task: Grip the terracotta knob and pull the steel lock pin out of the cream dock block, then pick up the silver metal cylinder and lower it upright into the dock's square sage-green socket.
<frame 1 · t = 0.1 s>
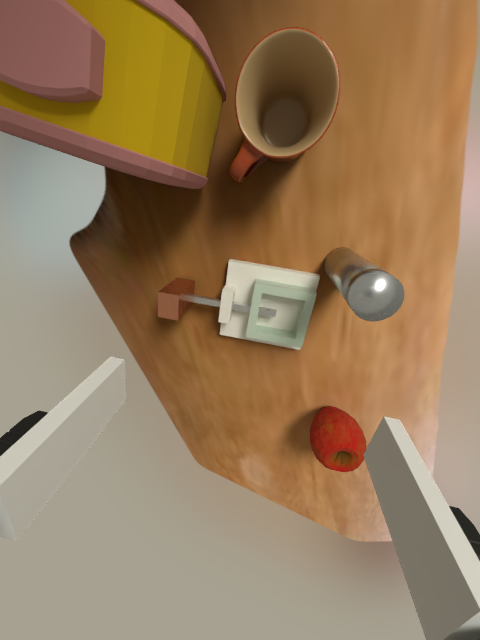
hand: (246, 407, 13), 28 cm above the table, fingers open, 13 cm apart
alarm clock: (157, 125, 33), on the table
dock: (266, 304, 40), on the table
silver metal cylinder: (340, 263, 37), on the table
pin: (221, 306, 37), point 4 cm above the table, slide at 0.0 cm
apple: (329, 409, 47), on the table
mug: (274, 142, 32), on the table
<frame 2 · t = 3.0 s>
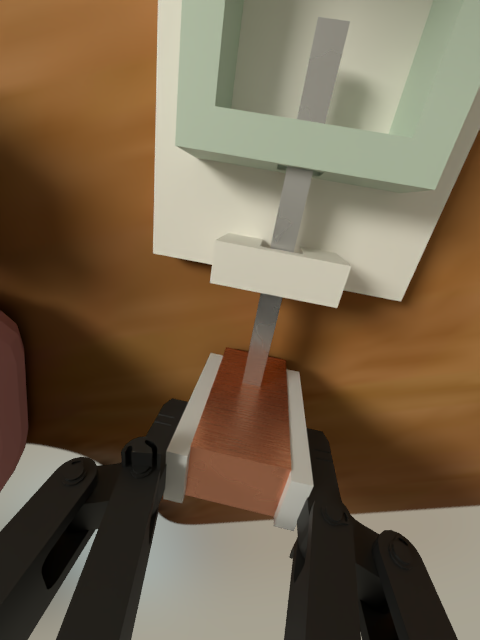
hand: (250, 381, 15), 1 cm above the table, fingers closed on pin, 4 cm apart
dock: (307, 120, 11), on the table
pin: (273, 290, 10), point 4 cm above the table, slide at 0.0 cm, touching gripper
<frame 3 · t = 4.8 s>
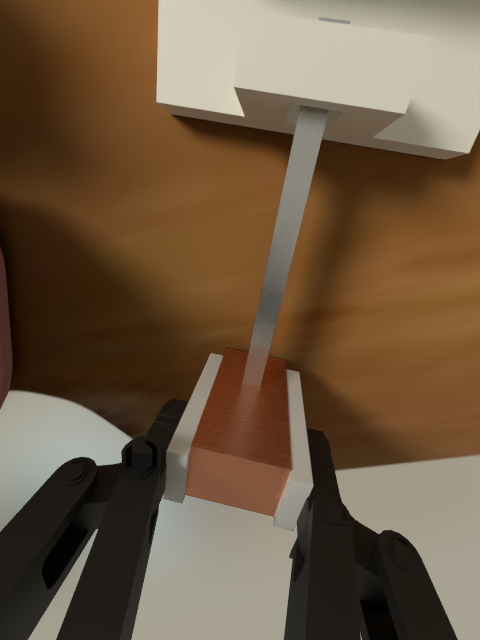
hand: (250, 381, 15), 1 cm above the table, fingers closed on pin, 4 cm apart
pin: (273, 290, 10), point 4 cm above the table, slide at 5.9 cm, touching gripper
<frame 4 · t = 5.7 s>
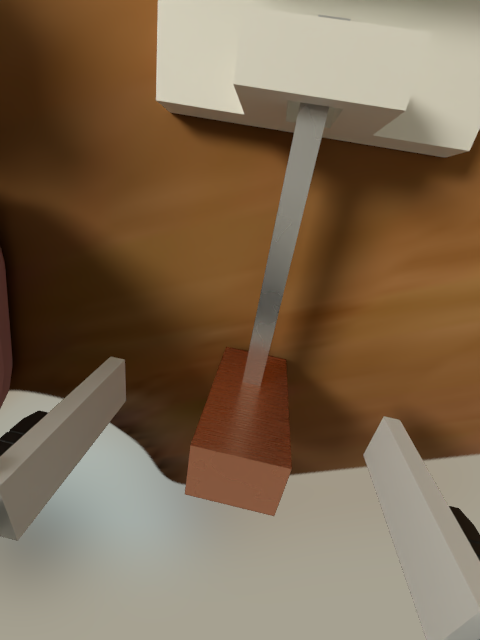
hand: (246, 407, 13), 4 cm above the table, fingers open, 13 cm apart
pin: (273, 289, 10), point 4 cm above the table, slide at 6.0 cm
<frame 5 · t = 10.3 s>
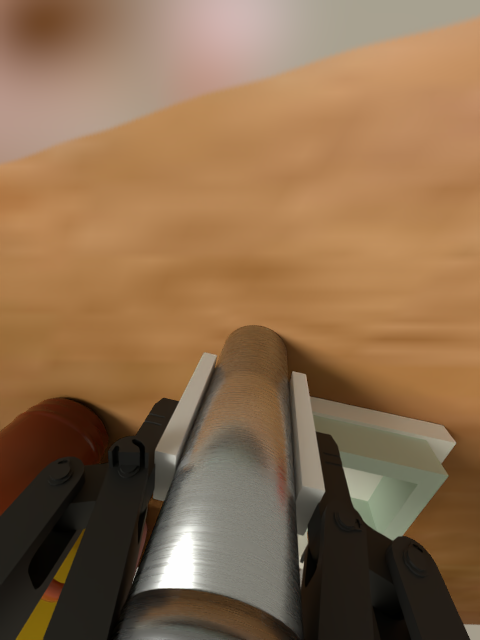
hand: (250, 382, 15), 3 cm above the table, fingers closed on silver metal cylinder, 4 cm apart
alarm clock: (102, 524, 30), on the table
dock: (329, 466, 21), on the table
silver metal cylinder: (254, 354, 18), on the table, touching gripper
pin: (295, 599, 23), point 4 cm above the table, slide at 6.0 cm
mug: (92, 432, 24), on the table
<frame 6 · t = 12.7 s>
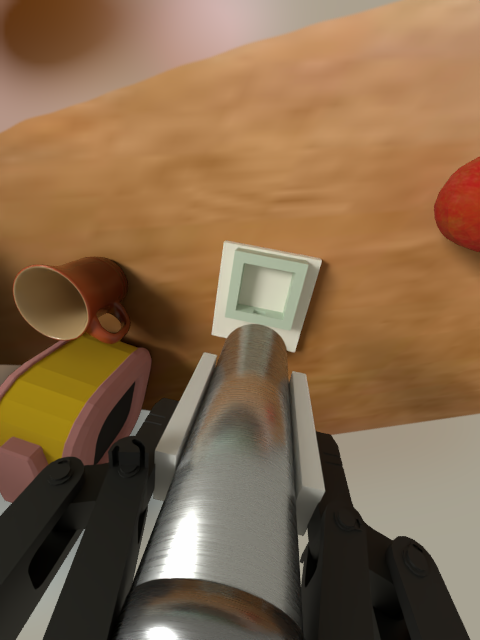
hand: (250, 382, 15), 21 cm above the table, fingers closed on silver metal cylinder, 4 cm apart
alarm clock: (120, 370, 44), on the table
dock: (262, 297, 35), on the table
silver metal cylinder: (254, 352, 18), point 18 cm above the table, touching gripper
apple: (452, 201, 28), on the table
mug: (117, 287, 38), on the table
when the fingers open (6 cm above the table, at t = 15.1 s): silver metal cylinder stays where it is, resting on dock.
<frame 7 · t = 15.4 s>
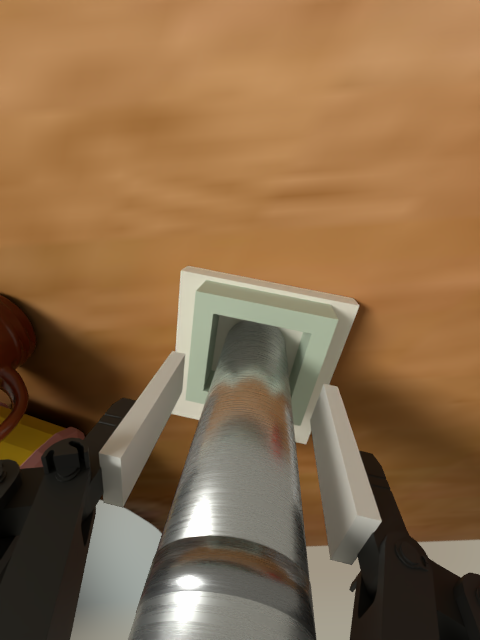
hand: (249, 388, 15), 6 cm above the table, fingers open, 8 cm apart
alarm clock: (47, 447, 30), on the table
dock: (252, 357, 21), on the table
silver metal cylinder: (255, 345, 19), point 2 cm above the table, touching dock
mug: (22, 335, 24), on the table
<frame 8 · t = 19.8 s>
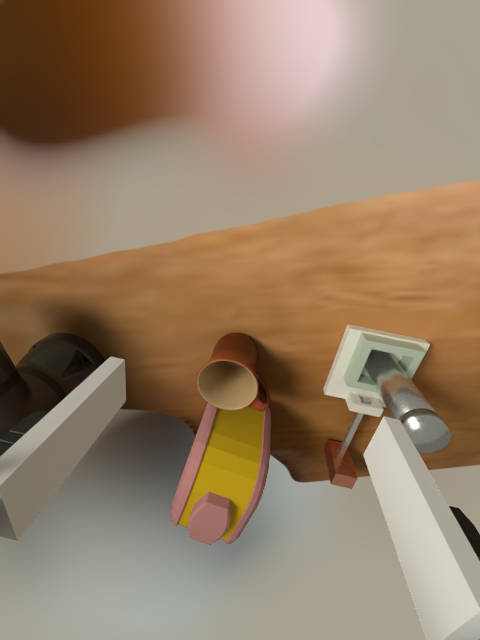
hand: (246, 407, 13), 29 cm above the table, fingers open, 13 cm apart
alarm clock: (231, 416, 52), on the table
dock: (370, 366, 43), on the table
silver metal cylinder: (378, 360, 41), point 2 cm above the table, touching dock
pin: (351, 437, 45), point 4 cm above the table, slide at 6.0 cm
mug: (244, 354, 46), on the table
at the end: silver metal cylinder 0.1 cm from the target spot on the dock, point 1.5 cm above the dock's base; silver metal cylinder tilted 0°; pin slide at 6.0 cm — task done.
